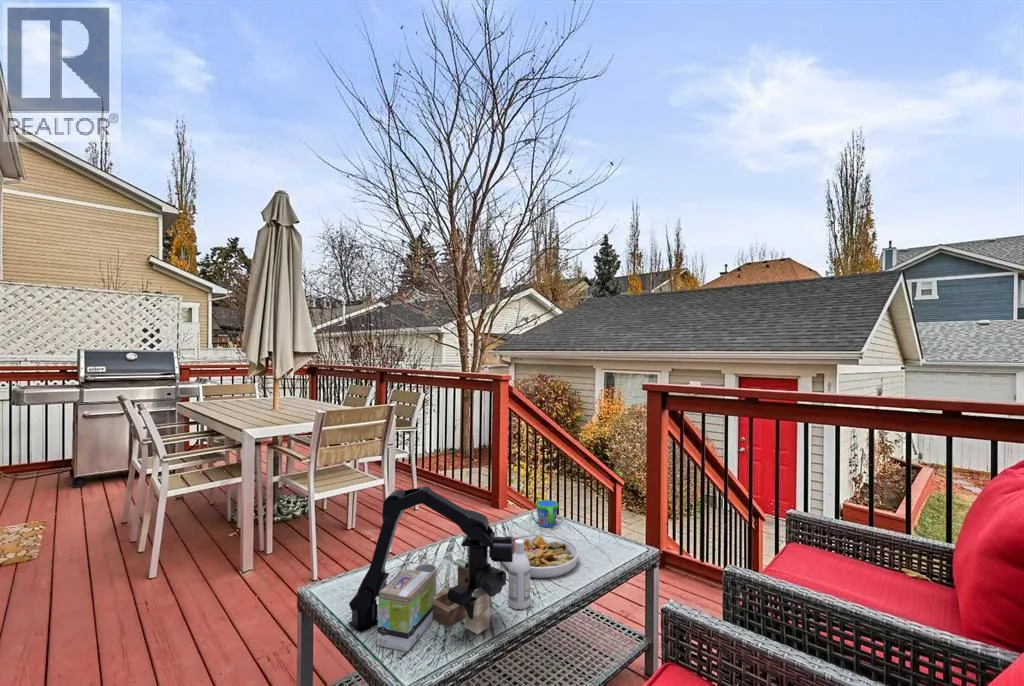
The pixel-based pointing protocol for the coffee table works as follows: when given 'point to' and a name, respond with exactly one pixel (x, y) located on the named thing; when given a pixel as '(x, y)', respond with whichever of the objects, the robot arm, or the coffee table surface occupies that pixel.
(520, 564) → the bath foam
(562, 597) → the coffee table surface
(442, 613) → the socket block
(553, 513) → the snack cup
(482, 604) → the peg
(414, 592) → the tea box
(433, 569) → the cup
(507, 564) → the bowl
